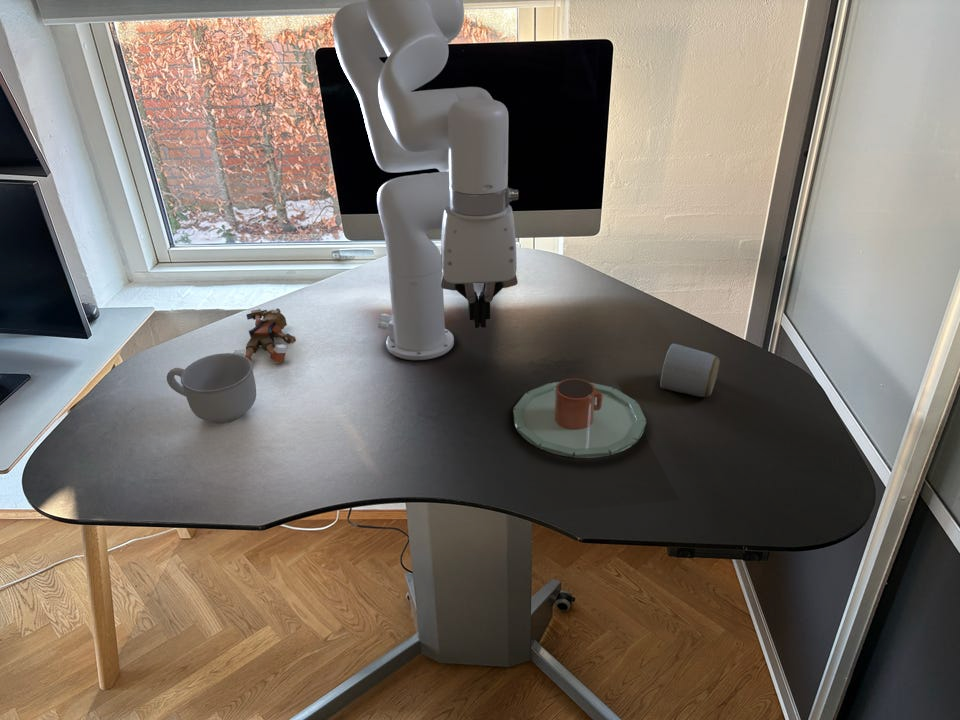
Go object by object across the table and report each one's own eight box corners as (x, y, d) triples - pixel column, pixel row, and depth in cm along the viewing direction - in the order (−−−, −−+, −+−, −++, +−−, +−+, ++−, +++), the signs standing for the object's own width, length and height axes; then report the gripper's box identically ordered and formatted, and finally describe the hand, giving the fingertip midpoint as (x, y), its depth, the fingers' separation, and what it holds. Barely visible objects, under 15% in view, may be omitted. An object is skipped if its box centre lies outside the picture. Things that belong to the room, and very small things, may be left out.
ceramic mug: (708, 407, 115) (715, 365, 112) (657, 396, 118) (662, 354, 115) (719, 377, 124) (726, 337, 120) (671, 367, 127) (677, 328, 123)
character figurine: (215, 352, 127) (246, 299, 142) (221, 374, 130) (251, 320, 145) (282, 352, 127) (306, 299, 141) (287, 375, 130) (310, 320, 144)
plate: (492, 443, 108) (492, 433, 107) (541, 380, 123) (542, 371, 123) (623, 478, 100) (624, 468, 99) (658, 406, 116) (659, 397, 115)
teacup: (273, 400, 119) (265, 358, 115) (233, 437, 110) (223, 392, 106) (203, 387, 123) (193, 346, 119) (159, 421, 114) (147, 378, 110)
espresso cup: (559, 431, 108) (561, 400, 105) (550, 409, 113) (551, 380, 111) (606, 426, 109) (609, 396, 106) (595, 405, 114) (597, 375, 112)
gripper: (530, 188, 98) (526, 309, 108) (420, 192, 97) (426, 314, 106) (539, 207, 92) (534, 333, 101) (422, 211, 91) (428, 339, 100)
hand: (479, 323), depth 104 cm, fingers closed
